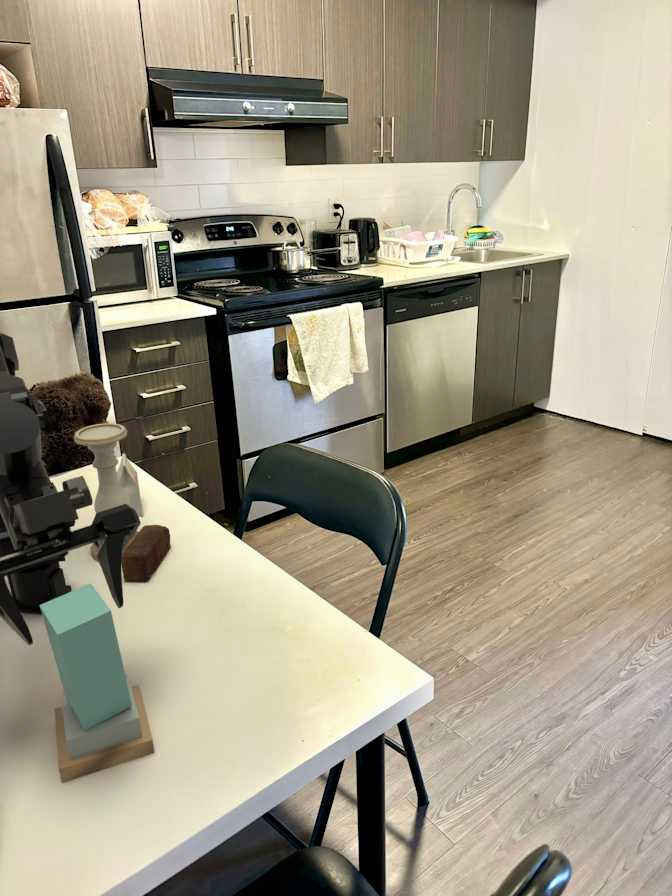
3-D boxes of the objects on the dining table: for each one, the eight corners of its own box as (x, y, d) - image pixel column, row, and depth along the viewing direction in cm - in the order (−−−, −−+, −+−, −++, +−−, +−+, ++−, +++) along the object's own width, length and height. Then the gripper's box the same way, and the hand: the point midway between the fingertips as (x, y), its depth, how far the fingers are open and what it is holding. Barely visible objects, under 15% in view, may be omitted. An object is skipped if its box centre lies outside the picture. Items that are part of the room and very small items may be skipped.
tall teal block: (66, 699, 71) (39, 605, 64) (112, 676, 73) (90, 583, 67) (84, 731, 67) (57, 634, 61) (131, 705, 70) (110, 610, 64)
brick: (149, 583, 99) (145, 556, 98) (123, 583, 100) (119, 555, 98) (172, 547, 109) (169, 521, 108) (148, 546, 110) (145, 521, 108)
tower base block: (63, 788, 67) (58, 769, 66) (58, 726, 75) (54, 708, 74) (155, 758, 70) (152, 739, 69) (141, 701, 78) (139, 684, 77)
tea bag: (120, 520, 118) (112, 468, 114) (120, 504, 124) (112, 454, 120) (142, 517, 119) (135, 465, 115) (141, 501, 125) (133, 451, 121)
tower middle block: (70, 760, 67) (66, 741, 66) (64, 713, 73) (60, 695, 72) (142, 736, 70) (139, 717, 69) (131, 693, 76) (128, 675, 75)
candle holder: (101, 536, 113) (81, 422, 105) (153, 535, 113) (137, 420, 105) (83, 564, 105) (60, 442, 97) (139, 562, 105) (120, 440, 97)
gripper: (-78, 485, 61) (-20, 645, 57) (121, 434, 72) (181, 566, 68) (-73, 530, 69) (-23, 671, 66) (103, 479, 80) (156, 598, 76)
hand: (77, 624), depth 69 cm, fingers open, 9 cm apart
